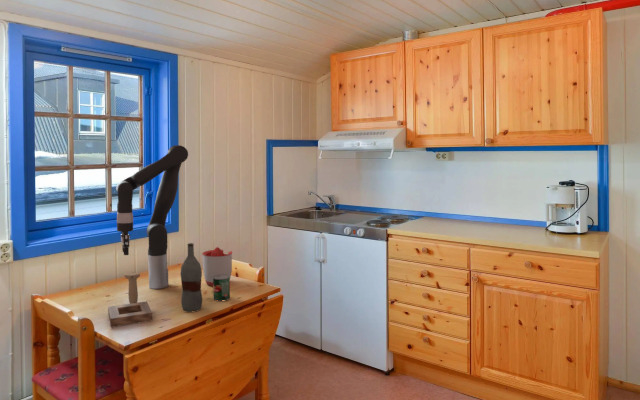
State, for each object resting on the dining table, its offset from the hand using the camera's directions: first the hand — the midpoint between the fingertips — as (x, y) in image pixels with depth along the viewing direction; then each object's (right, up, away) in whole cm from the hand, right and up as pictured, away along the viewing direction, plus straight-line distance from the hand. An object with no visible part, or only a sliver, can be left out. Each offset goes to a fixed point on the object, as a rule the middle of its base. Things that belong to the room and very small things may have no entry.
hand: (125, 253), depth 232 cm
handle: (+12, -22, -19) cm, 32 cm away
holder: (+16, -24, -34) cm, 44 cm away
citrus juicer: (+43, -18, +17) cm, 50 cm away
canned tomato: (+50, -21, -8) cm, 55 cm away
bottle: (+40, -23, -23) cm, 51 cm away
